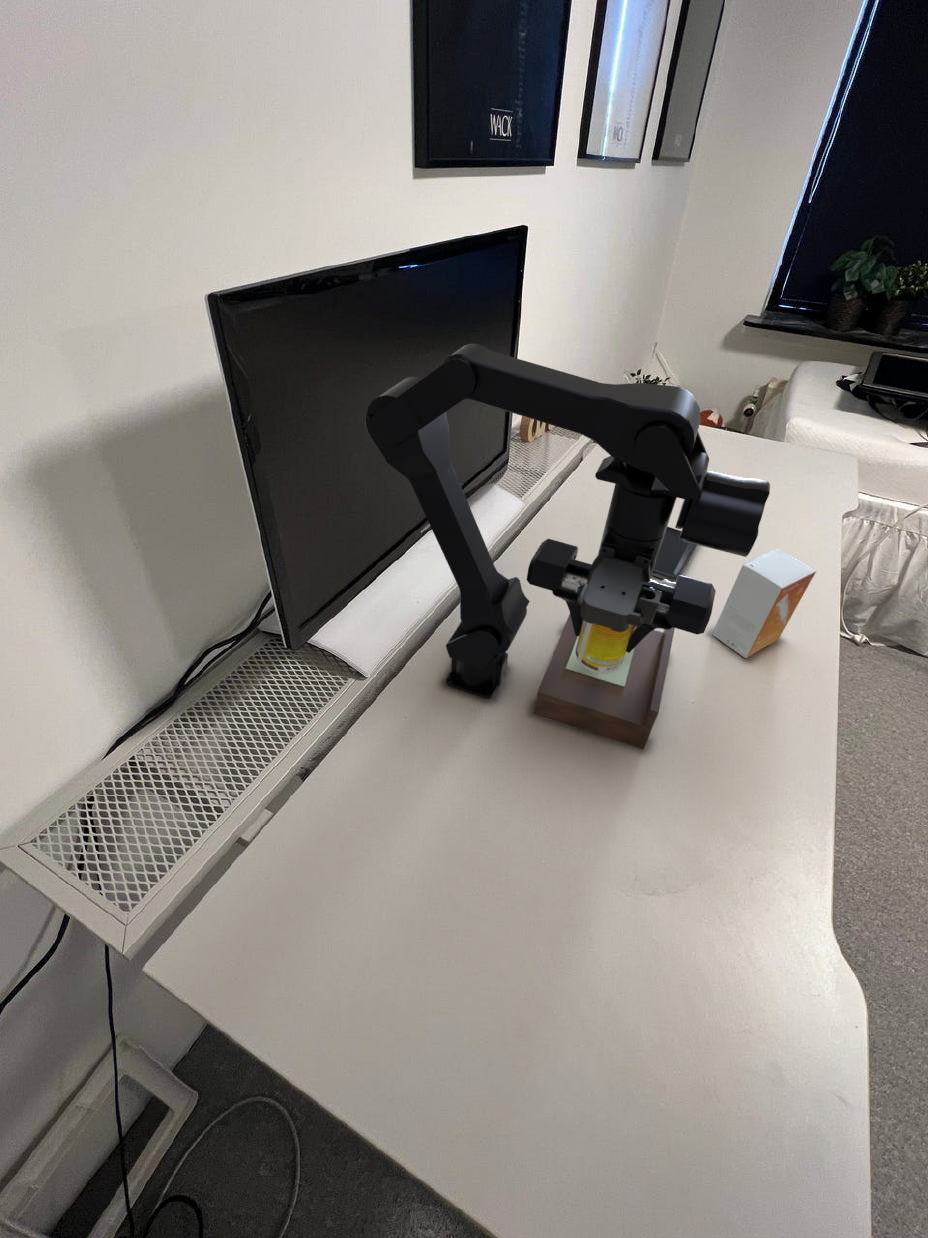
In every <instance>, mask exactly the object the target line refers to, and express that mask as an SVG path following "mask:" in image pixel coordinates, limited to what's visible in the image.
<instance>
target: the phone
mask: <svg viewBox="0 0 928 1238" xmlns="http://www.w3.org/2000/svg"><path fill="white" fill-rule="evenodd" d="M681 531H682V530H681V529H677V528H675V527H670V526H667V529H666V532H665V535H664V538H663V541H662V544H661V547H660V551H659V554H658V557H657V560H656V563H655V566H654V569H653V572H652V575H651V577H655V578H657V579H661V580H666V581H670V582H674V583H676V581H677V578H678V576H679V575H681V574H682V572H683V571H684V569H685V567H686V565H687V563H688V561H690V557H691V556H692V554H693V553H694V551H695V549H696V547H697V545H696V544H692V543H688V542H684V539H681V538H679V537H680V534H681Z"/></svg>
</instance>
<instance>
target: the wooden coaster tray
mask: <svg viewBox="0 0 928 1238" xmlns="http://www.w3.org/2000/svg"><path fill="white" fill-rule="evenodd" d="M635 627H636V626H635ZM635 627H634V629H635ZM675 630H676V628H674V627H672V629H670V630H665V629H663V631H660V630H657V629H654V630H653V631H652V632H650V633H649V634H648V635H646V636H645V637H644V638H643V639H642V640H641V641H640V642H639V644H638V645H637V646H636V647H635V648H634V649H633V650H632V651H631V652H630V653H628V652H626V653H625V656H624V659H623V662H622V664H621V666H620V667H619V668H618V669H617V670H615V671H614V672H611V673H606V674H601V673H595V672H592V671H589V670H588V669H586V668H584V667H583V666H582V665H581V664H580V663H579V662H578V660H577V658H576V654H575V651H576V646H577V642H578V638H579V636H575V633H574V628H573V624H572V619H571V615H570V613H569V614H568V617H567V619H566V622H565V624H564V627H563V628H562V631H561V634H560V636H559V639H558V641H557V644H556V646H555V649H554V651H553V653H552V655H551V658H550V660H549V663H548V666H547V669H546V670H545V673H544V676H543V678H542V680H541V682H540V685H539V688H538V691H537V694H536V699H535V703H534V709H533V714H536V715H539V716H542V717H545V718H548V719H551V720H554V721H557V722H560V723H563V724H566V725H568V726H572V727H575V728H578V729H581V730H584V731H587V732H590V733H593V734H596V735H599V736H602V737H605V738H609V739H612V740H614V741H617V742H620V743H623V744H626V745H630V746H632V747H636V748H638V749H642V750H644V749H645V748H646V744H647V742H648V739H649V737H650V735H651V732H652V730H653V728H654V725H655V723H656V720H657V718H658V715H659V713H660V708H661V702H662V697H663V692H664V688H665V687H664V686H665V681H666V678H667V677H666V676H667V671H668V665H669V660H670V655H671V650H672V644H673V639H674V634H675ZM633 631H634V630H633Z"/></svg>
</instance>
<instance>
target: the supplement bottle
mask: <svg viewBox="0 0 928 1238" xmlns="http://www.w3.org/2000/svg"><path fill="white" fill-rule="evenodd" d="M634 627H635V626H633V625H630V626H629V628H628V629H627V630H626V631H624V632H616V631H613V630H612V629H610V628H607V627H604V626H601V625H597V624H591V623H588V622H585V621H584V620H583V623H582V626H581V630H580V634H579V638H578V642H577V646H576V651H575V654H576V658H577V660H578V662H579V663H580V664H581V665H582V666H583V667H584V668H586V669H588V670H589V671H592V672H595V673H601V674H606V673H611V672H614V671H615V670H617V669H618V668H619V667H620V666H621V664H622V662H623V659H624V656H625V653H626V650H627V647H628V644H629V641H630V639H631V636H632V633H633V630H634Z"/></svg>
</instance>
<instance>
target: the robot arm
mask: <svg viewBox="0 0 928 1238" xmlns="http://www.w3.org/2000/svg"><path fill="white" fill-rule="evenodd" d="M465 400H469V401H473V402H476V403H479V404H482V405H486V406H489V407H492V408H495V409H498V410H502V411H505V412H508V413H512V414H514V415H517V416H521V417H525V418H527V419H531V420H534V421H537V422H540V423H544V424H547V425H550V426H553V427H557V428H559V429H562V430H566V431H568V432H572V433H576V434H578V435H581V436H584V437H585V438H587V439H589V440H591V441H593V442H595V443H596V444H597V445H598V447H600V448H601V449H602V450H603V451H605V452H606V453H607V454H608V455H609V456H607V457H605V458H603V459H602V461H601V463H600V464H599V467H598V469H597V470H596V472H595V475H594V477H595V479H596V480H598V481H601V482H607V483H611V484H614V487H613V492H612V496H611V500H610V504H609V507H608V512H607V517H606V519H605V524H604V527H603V531H602V532H603V533H602V536H601V541H600V545H599V547H598V552H597V555H596V557H595V558H594V559H593V561H592V563H588V562H584V561H582V560H578V559H577V557H578V556H577V555H578V552H579V547H578V546H577V545H573V544H570V543H566V542H562V541H560V540H559V541H558V540H555V539H551V538H547V539H544V541H542V542H541V543H540V545H539V546H538V548H537V550H536V552H535V553H534V555H533V556H532V558H531V560H530V562H529V565H528V568H527V573H526V582H527V583H528V584H529V585H532V586H535V587H537V588H540V589H544V590H548V591H551V593H552V595H553V596H554V597H557V598H560V599H562V600H563V601H564V602H565V603H566V606H567V608H568V611H569V614H570V615H571V619H572V624H573V628H574V633H575V636H579V634H580V630H581V626H582V623H583V620H584V621H585V622H588V623H591V624H597V625H601V626H604V627H607V628H610V629H612V630H613V631H616V632H624V631H626V630H627V629H628V628H629V626H630V625H633V626H636V627H635V629H634V631H633V633H632V636H631V639H630V641H629V644H628V647H627V650H626V652H628V653H630V652H631V651H632V650H633V649H634V648H635V647H636V646H637V645H638V644H639V642H640V641H641V640H642V639H643V638H644V637H645V636H646V635H648V634H649V633H650V632H652V631H653V630H657V629H662V630H664V629H665V630H670V629H672V627H674V628H675V629H678V630H681V631H684V632H687V633H691V634H693V635H701V634H704V633H705V631H706V629H707V626H708V625H709V622H710V620H711V616H712V612H713V609H714V608H713V607H714V601H715V596H716V589H715V587H714V585H713V583H710V582H706V581H703V580H701V579H700V580H699V579H696V578H692V577H688V576H686V575H683V574H682V575H681V574H680V575H679V576H678V578H677V581H675V582H670V581H666V580H663V579H661V580H659V581H656V580H652V572H653V569H654V566H655V563H656V560H657V557H658V554H659V551H660V547H661V544H662V541H663V538H664V535H665V532H666V529H667V527H669V523H670V520H671V518H672V517H671V516H672V514H673V511H674V507H675V504H676V501H677V499H682V504H681V507H680V510H679V514H678V517H677V519H676V523H675V526H674V529H677V530H680V531H681V534H680V537H679V538H681V539H684V542H688V543H692V544H696V546H701V547H703V548H709V549H712V550H717V551H720V552H724V553H728V554H733V555H736V556H740V557H744V558H746V557H748V556H749V554H750V553H751V551H752V549H753V547H754V546H755V543H756V541H757V539H758V537H759V529H760V524H761V521H762V518H763V514H764V510H765V506H766V503H767V500H768V498H769V496H770V491H771V483H770V481H767V480H762V479H759V478H743V477H739V476H733V475H729V474H725V473H721V472H715V471H711V470H708V467H709V464H710V456H709V455H708V452H707V449H706V447H705V445H704V442H703V440H702V437H701V435H700V432H699V428H700V426H701V425H700V424H701V420H702V416H701V414H702V413H701V408H700V406H699V404H698V402H697V400H696V397H695V396H694V395H693V394H692V393H691V392H690V391H688V390H687V389H684V388H683V387H680V386H675V385H667V384H655V383H647V382H646V383H645V382H634V383H632V382H631V383H619V384H618V383H617V384H615V383H603V382H600V381H596V380H592V379H589V378H585V377H581V376H579V375H575V374H572V373H569V372H564V371H562V370H558V369H555V368H551V367H548V366H544V365H541V364H537V363H534V362H530V361H527V360H524V359H520V358H516V357H513V356H510V355H508V354H507V355H506V354H503V353H500V352H496V351H493V350H489V349H488V348H486V347H485V346H483V345H481V344H478V343H469V344H465V345H463V346H462V347H460V348H459V349H457V350H456V351H455V352H453V353H451V354H450V355H449V356H447V358H446V359H445V360H443V362H442V364H441V365H439V366H438V367H437V368H436V369H435V370H433V371H432V372H430V373H428V375H426V376H425V377H423V378H422V377H418V376H409V377H406V378H404V379H402V380H401V381H400V382H398V383H396V384H395V385H393V386H392V387H391V388H389V389H387V390H386V391H385V392H383V393H381V394H380V395H379V396H377V397H375V398H374V399H373V400H372V401H371V402H370V404H369V405H368V406H367V410H366V414H365V417H364V424H365V428H366V432H367V434H368V436H369V437H370V439H371V441H372V443H373V444H374V445H375V447H376V448H377V450H378V452H379V453H380V454H381V456H382V457H383V459H384V461H385V462H386V463H387V464H388V465H389V466H390V467H392V468H393V469H394V470H396V471H397V472H398V473H399V474H400V475H402V476H403V477H405V478H406V479H407V480H408V482H409V483H410V486H411V488H412V489H413V491H414V495H415V496H416V498H417V500H418V503H419V504H420V506H421V509H422V511H423V514H424V515H425V518H426V520H427V521H428V522H427V523H428V524H429V527H430V529H431V530H432V533H433V535H434V537H435V539H436V541H437V543H438V546H439V548H440V550H441V552H442V554H443V556H444V559H445V561H446V563H447V565H448V568H449V569H450V572H451V575H452V576H453V578H454V581H455V583H456V584H457V587H458V590H459V618H460V623H459V624H458V626H457V627H456V629H455V630H454V632H453V633H452V635H451V637H450V638H449V639H448V641H447V643H446V644H445V648H446V651H447V654H448V657H449V658H450V672H449V674H448V675H447V677H446V679H445V685H447V686H449V687H452V688H455V689H458V690H460V691H464V692H467V693H470V694H473V695H476V696H479V697H483V698H485V699H491V698H492V697H493V696H494V694H495V691H496V690H497V688H499V687H501V685H502V683H503V681H504V679H505V677H506V673H507V665H508V659H509V654H508V650H509V649H510V647H511V646H512V643H513V641H514V640H515V638H516V636H517V634H518V633H519V630H520V629H521V627H522V624H523V623H524V621H525V619H526V616H527V615H528V606H529V604H530V600H529V599H528V598H527V596H526V595H525V593H524V591H523V588H522V584H521V580H520V578H519V577H518V576H515V577H511V578H507V577H506V576H505V575H503V574H502V573H500V572H499V571H498V570H497V568H496V566H495V563H494V562H493V559H492V556H491V555H490V552H489V550H488V547H487V544H486V542H485V540H484V538H483V535H482V533H481V530H480V527H479V526H478V523H477V520H476V519H475V516H474V514H473V511H472V508H471V507H470V504H469V502H468V499H467V497H466V495H465V492H464V490H463V487H462V485H461V483H460V480H459V478H458V476H457V473H456V471H455V468H454V466H453V463H452V460H451V443H450V439H451V438H450V437H451V435H450V433H451V432H450V431H451V430H450V424H449V420H448V419H449V418H448V416H447V412H448V411H449V410H450V409H452V408H453V407H455V406H456V405H458V404H459V403H461V402H463V401H465Z"/></svg>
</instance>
